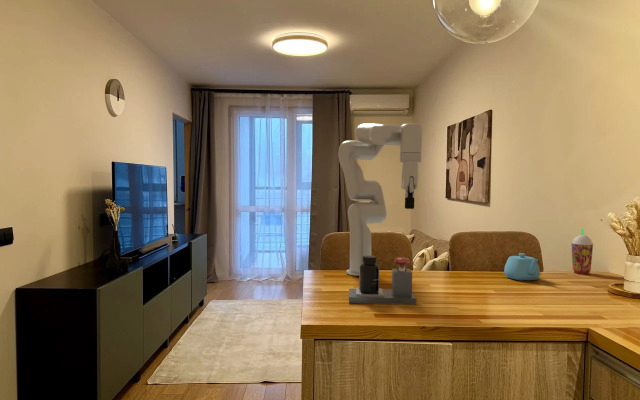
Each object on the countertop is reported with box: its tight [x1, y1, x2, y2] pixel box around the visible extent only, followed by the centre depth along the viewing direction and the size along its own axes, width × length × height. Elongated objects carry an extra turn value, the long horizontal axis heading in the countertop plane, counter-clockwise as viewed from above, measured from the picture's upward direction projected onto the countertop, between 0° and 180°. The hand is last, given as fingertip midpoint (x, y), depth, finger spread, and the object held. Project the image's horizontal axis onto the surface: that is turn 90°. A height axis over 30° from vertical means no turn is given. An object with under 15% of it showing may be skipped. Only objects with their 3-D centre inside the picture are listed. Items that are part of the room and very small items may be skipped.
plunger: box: [394, 256, 410, 271], centre depth 144 cm, size 5×5×12 cm
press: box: [348, 268, 417, 305], centre depth 145 cm, size 12×22×10 cm, turn 86°
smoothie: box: [570, 228, 594, 276], centre depth 189 cm, size 8×8×20 cm
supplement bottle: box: [358, 255, 380, 293], centre depth 145 cm, size 7×7×12 cm
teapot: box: [503, 252, 541, 281], centre depth 177 cm, size 13×11×18 cm
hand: (409, 208), depth 154 cm, fingers closed
